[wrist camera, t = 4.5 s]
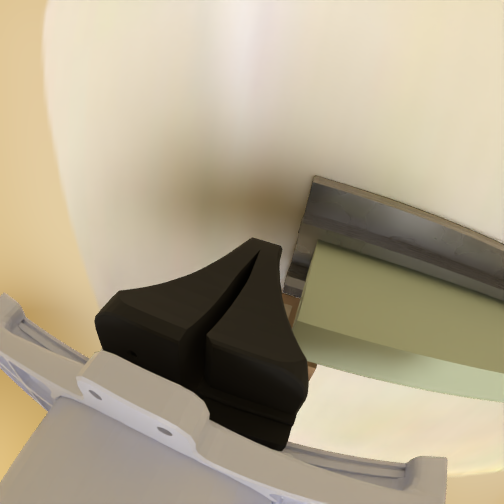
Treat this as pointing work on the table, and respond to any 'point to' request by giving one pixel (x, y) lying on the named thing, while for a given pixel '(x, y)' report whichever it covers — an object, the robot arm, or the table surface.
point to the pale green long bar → (400, 325)
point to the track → (394, 239)
